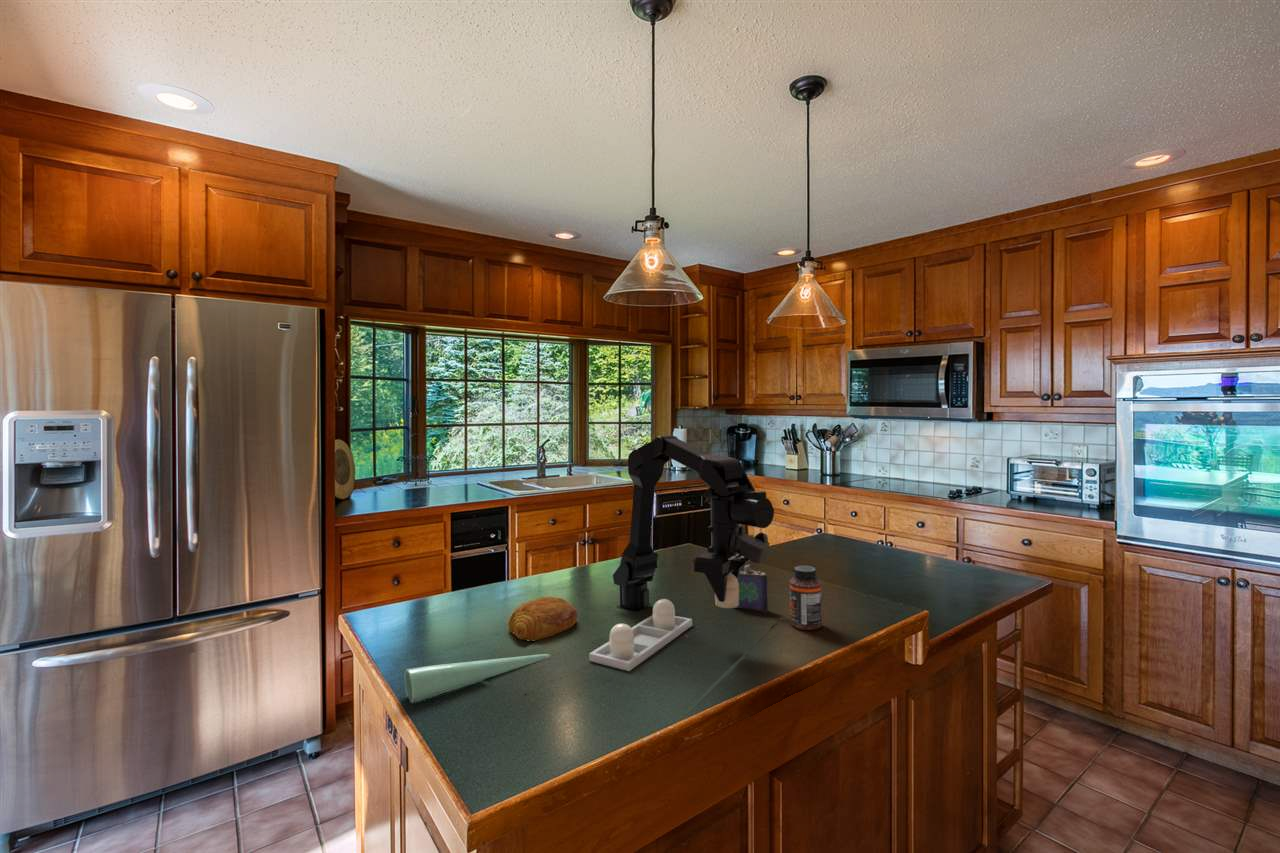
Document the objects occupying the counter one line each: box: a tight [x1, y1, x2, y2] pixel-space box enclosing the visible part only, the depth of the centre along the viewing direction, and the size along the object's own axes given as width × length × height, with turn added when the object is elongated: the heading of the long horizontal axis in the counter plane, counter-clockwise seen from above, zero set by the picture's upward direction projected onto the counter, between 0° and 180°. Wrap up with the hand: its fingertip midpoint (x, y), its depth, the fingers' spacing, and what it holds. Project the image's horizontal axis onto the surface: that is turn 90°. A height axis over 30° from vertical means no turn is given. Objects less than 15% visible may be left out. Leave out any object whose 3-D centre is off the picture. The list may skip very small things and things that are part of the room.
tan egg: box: [714, 573, 739, 609], centre depth 118 cm, size 5×5×6 cm
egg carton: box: [588, 614, 693, 672], centre depth 120 cm, size 9×26×2 cm, turn 148°
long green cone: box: [404, 653, 551, 703], centre depth 107 cm, size 5×6×27 cm
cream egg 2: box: [652, 598, 676, 631], centre depth 127 cm, size 5×5×6 cm
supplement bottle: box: [789, 565, 823, 631], centre depth 128 cm, size 7×7×13 cm
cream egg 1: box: [608, 623, 635, 661], centre depth 113 cm, size 5×5×6 cm
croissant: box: [508, 596, 578, 641], centre depth 130 cm, size 14×16×8 cm
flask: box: [733, 564, 769, 612], centre depth 140 cm, size 9×3×11 cm, turn 71°
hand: (726, 597), depth 118 cm, fingers closed on tan egg, 5 cm apart
